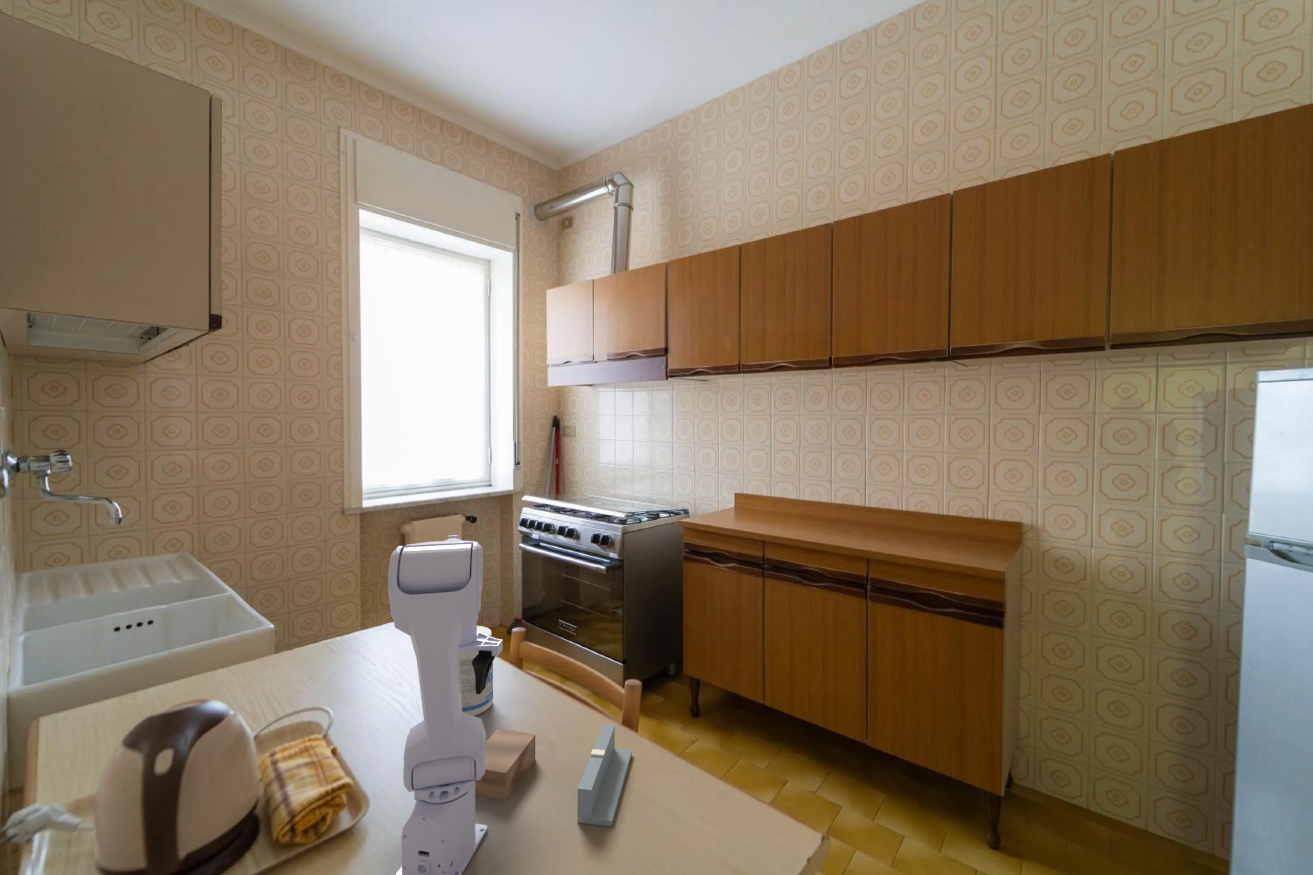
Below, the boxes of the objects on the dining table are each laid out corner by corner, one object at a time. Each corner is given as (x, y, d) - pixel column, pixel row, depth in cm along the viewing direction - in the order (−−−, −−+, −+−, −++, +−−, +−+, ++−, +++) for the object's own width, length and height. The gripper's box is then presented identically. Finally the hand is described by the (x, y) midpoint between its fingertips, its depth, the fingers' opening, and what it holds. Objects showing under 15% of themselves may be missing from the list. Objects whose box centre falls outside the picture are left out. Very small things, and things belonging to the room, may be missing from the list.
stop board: (611, 826, 75) (611, 789, 75) (577, 822, 76) (577, 786, 75) (631, 754, 91) (632, 724, 90) (603, 752, 91) (603, 722, 91)
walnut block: (505, 801, 80) (505, 772, 80) (464, 793, 81) (464, 765, 81) (535, 760, 89) (535, 734, 89) (497, 753, 91) (497, 728, 91)
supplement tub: (499, 711, 104) (499, 637, 103) (448, 726, 99) (448, 648, 98) (485, 689, 112) (485, 621, 111) (437, 702, 107) (437, 630, 106)
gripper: (510, 606, 90) (510, 678, 92) (430, 596, 92) (432, 667, 94) (491, 627, 83) (492, 704, 85) (406, 616, 85) (409, 692, 87)
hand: (459, 687), depth 89 cm, fingers open, 7 cm apart
